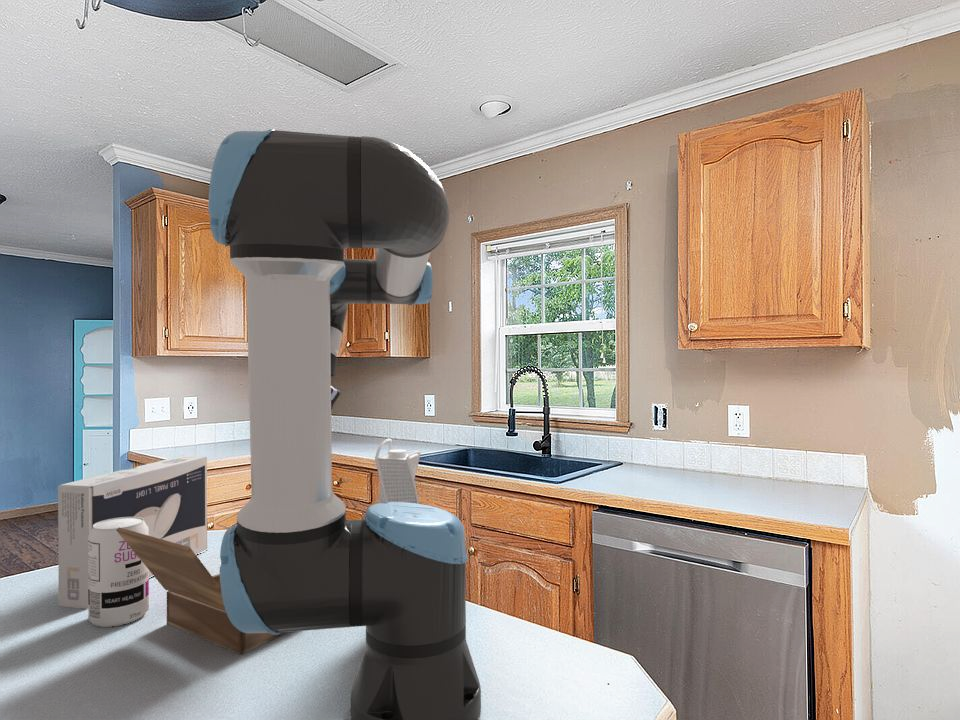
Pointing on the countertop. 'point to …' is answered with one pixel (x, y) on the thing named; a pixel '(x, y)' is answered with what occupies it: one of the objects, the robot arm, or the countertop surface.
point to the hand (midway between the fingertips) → (289, 485)
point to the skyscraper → (397, 475)
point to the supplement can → (116, 574)
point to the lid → (175, 568)
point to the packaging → (130, 513)
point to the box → (211, 623)
